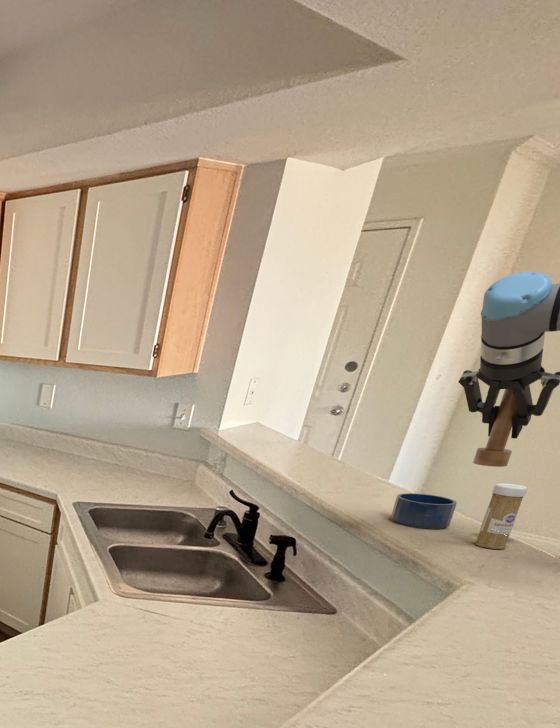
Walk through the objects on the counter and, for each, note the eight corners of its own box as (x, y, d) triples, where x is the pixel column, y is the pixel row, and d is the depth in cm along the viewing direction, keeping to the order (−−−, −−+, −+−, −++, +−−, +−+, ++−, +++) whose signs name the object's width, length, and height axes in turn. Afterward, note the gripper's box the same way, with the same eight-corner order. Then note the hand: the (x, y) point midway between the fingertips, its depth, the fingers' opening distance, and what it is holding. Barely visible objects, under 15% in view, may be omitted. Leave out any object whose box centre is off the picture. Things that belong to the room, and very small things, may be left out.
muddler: (507, 463, 120) (539, 370, 113) (506, 467, 117) (539, 371, 110) (473, 460, 123) (503, 369, 117) (471, 464, 120) (502, 371, 114)
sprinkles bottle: (493, 551, 122) (516, 488, 118) (468, 543, 126) (489, 483, 122) (511, 548, 123) (534, 486, 118) (485, 541, 127) (506, 481, 123)
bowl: (450, 522, 140) (458, 498, 138) (446, 532, 133) (455, 507, 131) (393, 514, 147) (400, 491, 145) (387, 523, 140) (394, 499, 138)
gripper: (443, 366, 112) (444, 442, 126) (568, 368, 99) (555, 452, 113) (460, 336, 113) (460, 414, 126) (587, 334, 100) (571, 421, 114)
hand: (505, 432), depth 120 cm, fingers closed on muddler, 3 cm apart
